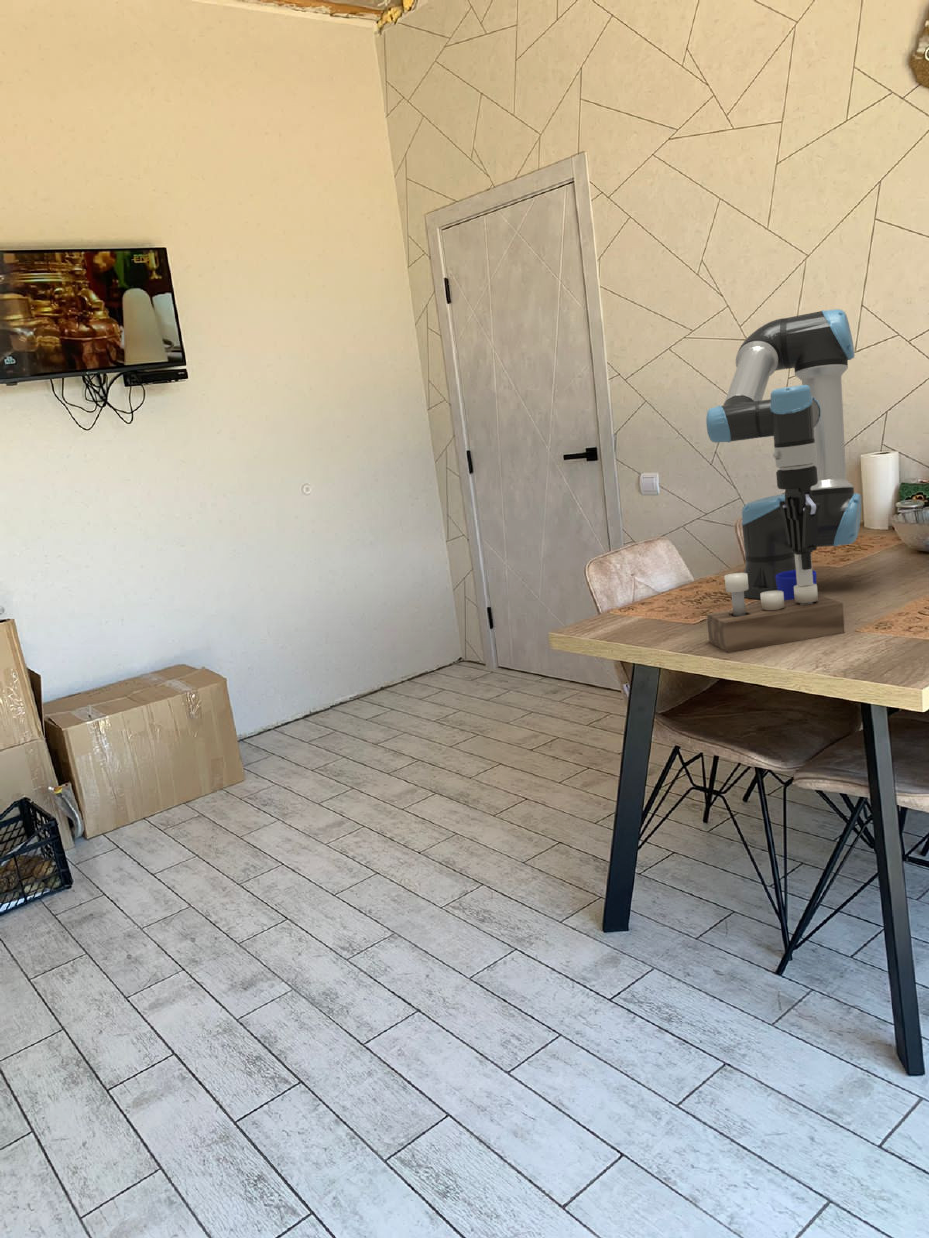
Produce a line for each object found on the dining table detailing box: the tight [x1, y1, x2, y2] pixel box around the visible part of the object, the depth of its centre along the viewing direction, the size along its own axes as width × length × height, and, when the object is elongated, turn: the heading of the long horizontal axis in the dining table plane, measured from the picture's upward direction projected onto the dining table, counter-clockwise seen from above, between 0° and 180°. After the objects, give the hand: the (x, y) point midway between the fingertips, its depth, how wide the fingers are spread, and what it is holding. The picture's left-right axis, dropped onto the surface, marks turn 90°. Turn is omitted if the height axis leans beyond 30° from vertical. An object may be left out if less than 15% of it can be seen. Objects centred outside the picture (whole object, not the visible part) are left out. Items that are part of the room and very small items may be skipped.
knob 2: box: [760, 591, 785, 611], centre depth 188 cm, size 4×4×9 cm
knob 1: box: [723, 572, 749, 617], centre depth 186 cm, size 4×4×9 cm
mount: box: [706, 594, 845, 653], centre depth 188 cm, size 10×24×6 cm, turn 96°
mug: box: [775, 569, 817, 601], centre depth 201 cm, size 8×12×10 cm
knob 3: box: [794, 583, 819, 606], centre depth 188 cm, size 4×4×9 cm
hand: (805, 584), depth 187 cm, fingers closed
